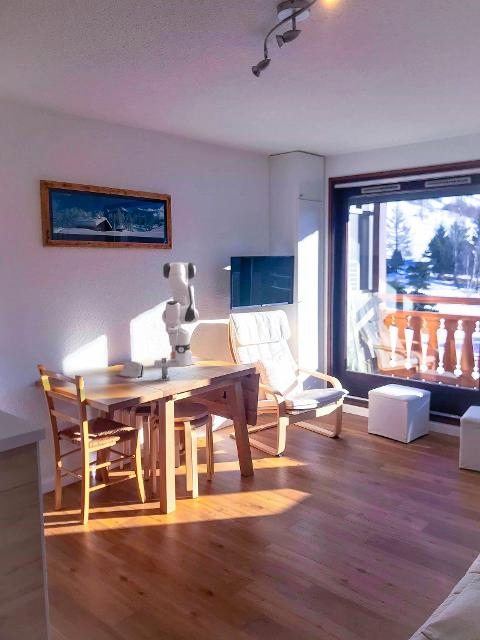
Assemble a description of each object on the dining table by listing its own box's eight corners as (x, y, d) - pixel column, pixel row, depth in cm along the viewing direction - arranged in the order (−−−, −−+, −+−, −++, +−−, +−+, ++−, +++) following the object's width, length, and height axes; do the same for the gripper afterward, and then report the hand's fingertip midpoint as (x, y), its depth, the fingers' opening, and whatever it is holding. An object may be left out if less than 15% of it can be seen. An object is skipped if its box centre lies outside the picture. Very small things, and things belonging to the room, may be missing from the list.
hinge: (119, 374, 349) (122, 359, 350) (124, 376, 352) (128, 360, 354) (137, 378, 339) (141, 362, 340) (142, 379, 342) (146, 363, 344)
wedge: (171, 358, 334) (171, 338, 333) (175, 358, 334) (175, 338, 333) (171, 359, 332) (171, 339, 331) (175, 358, 332) (175, 339, 331)
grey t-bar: (155, 378, 338) (154, 357, 337) (179, 377, 340) (179, 356, 339) (154, 381, 329) (153, 360, 327) (179, 380, 330) (179, 359, 329)
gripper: (168, 326, 341) (168, 348, 343) (167, 330, 321) (167, 353, 322) (178, 326, 342) (178, 348, 343) (178, 330, 322) (178, 353, 323)
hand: (173, 351), depth 333 cm, fingers closed on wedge, 2 cm apart
